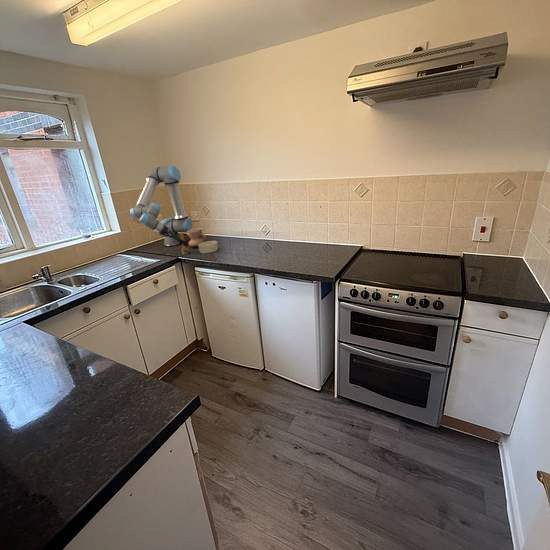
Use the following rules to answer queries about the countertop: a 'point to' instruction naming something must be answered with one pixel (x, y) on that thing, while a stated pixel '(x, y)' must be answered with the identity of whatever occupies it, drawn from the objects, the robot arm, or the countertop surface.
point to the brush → (184, 250)
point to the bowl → (208, 247)
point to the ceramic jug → (196, 237)
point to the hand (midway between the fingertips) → (185, 244)
